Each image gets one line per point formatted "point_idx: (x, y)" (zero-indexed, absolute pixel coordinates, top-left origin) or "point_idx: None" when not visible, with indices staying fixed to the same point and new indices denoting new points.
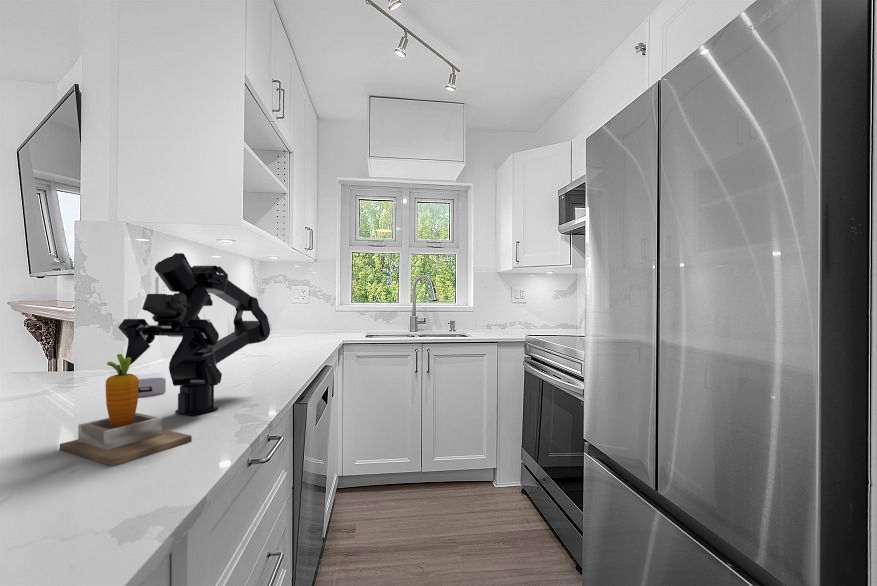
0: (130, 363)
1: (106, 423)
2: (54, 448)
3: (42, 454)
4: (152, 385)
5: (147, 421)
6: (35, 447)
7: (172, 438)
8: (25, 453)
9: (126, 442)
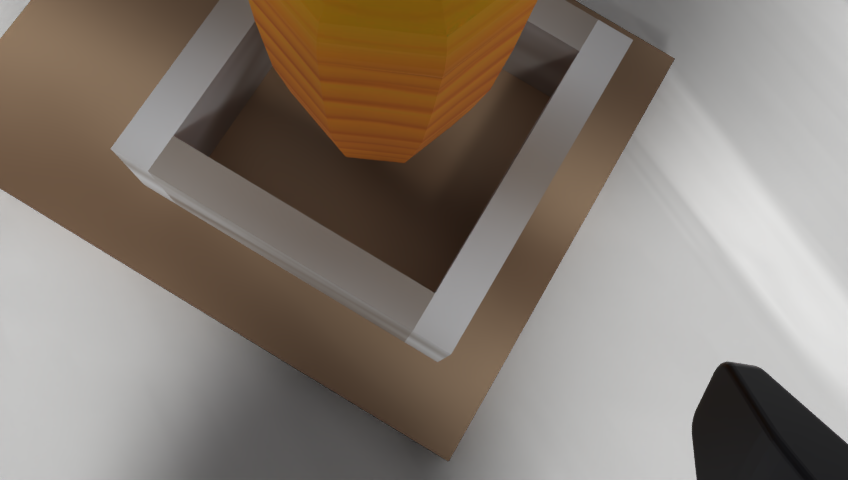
0: (701, 454)
1: (517, 154)
2: (711, 101)
3: (695, 13)
4: None
5: (181, 68)
6: (832, 129)
7: (28, 89)
8: (798, 38)
9: None
